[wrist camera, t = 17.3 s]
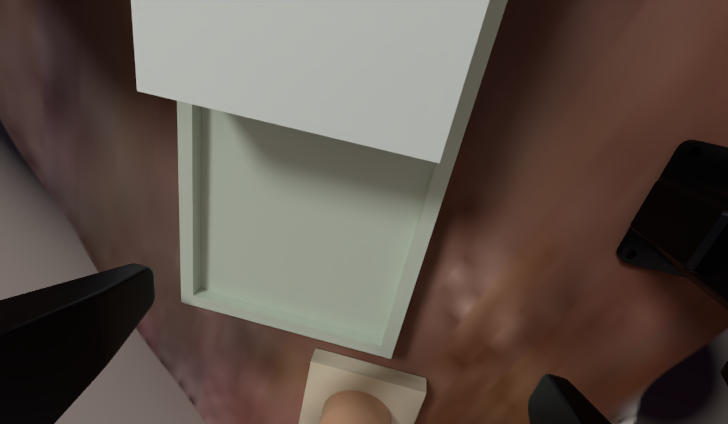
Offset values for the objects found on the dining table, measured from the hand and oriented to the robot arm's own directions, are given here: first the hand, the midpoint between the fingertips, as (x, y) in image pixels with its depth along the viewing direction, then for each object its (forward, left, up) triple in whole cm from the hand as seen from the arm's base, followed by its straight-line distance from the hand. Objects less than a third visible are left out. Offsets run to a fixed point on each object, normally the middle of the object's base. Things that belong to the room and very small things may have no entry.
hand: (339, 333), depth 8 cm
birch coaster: (-2, +18, -12) cm, 21 cm away
